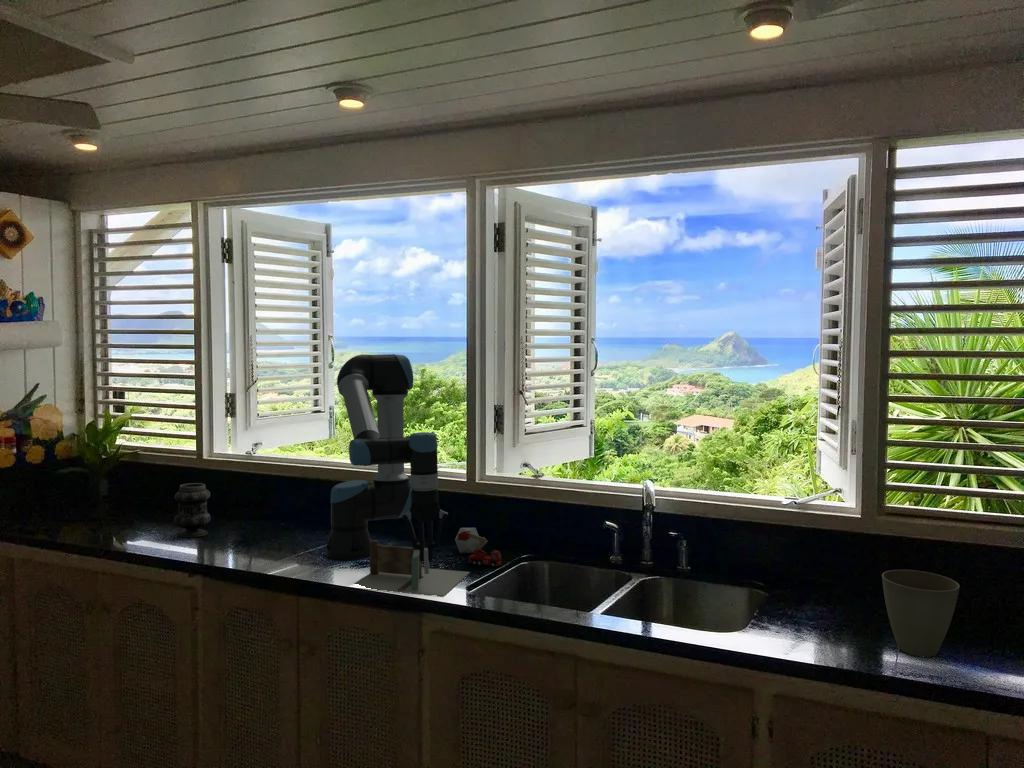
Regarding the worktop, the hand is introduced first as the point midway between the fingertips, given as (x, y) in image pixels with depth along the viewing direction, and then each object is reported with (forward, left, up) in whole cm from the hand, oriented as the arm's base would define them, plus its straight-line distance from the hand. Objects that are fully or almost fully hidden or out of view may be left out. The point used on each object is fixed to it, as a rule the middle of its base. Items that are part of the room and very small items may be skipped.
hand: (426, 572), depth 204 cm
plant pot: (+121, -13, -4) cm, 121 cm away
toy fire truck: (+8, +25, -4) cm, 27 cm away
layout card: (-6, +4, -4) cm, 9 cm away
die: (0, +37, -4) cm, 38 cm away
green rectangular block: (-3, 0, -3) cm, 5 cm away
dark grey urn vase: (-102, +32, -4) cm, 108 cm away
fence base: (-12, +6, -4) cm, 14 cm away
